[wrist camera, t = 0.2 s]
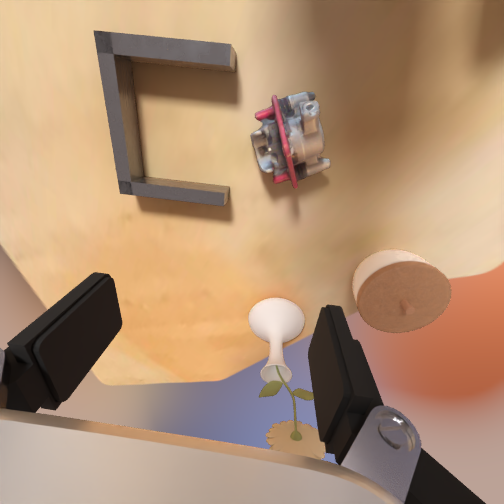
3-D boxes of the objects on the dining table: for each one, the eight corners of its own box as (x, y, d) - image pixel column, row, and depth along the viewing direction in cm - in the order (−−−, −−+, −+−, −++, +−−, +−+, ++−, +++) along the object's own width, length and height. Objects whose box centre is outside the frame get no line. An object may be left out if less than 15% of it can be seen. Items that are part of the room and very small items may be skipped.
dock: (113, 40, 32) (93, 30, 28) (236, 52, 31) (231, 44, 28) (133, 187, 41) (120, 193, 37) (228, 198, 40) (224, 206, 37)
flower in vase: (241, 324, 53) (217, 468, 31) (260, 285, 48) (246, 424, 26) (297, 343, 54) (311, 494, 32) (321, 306, 49) (358, 457, 27)
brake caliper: (224, 116, 32) (277, 86, 22) (286, 96, 36) (355, 62, 26) (251, 197, 37) (305, 201, 27) (303, 171, 41) (367, 166, 31)
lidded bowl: (347, 238, 42) (369, 273, 32) (427, 236, 40) (475, 272, 30) (340, 297, 47) (357, 342, 38) (409, 297, 46) (445, 344, 36)
